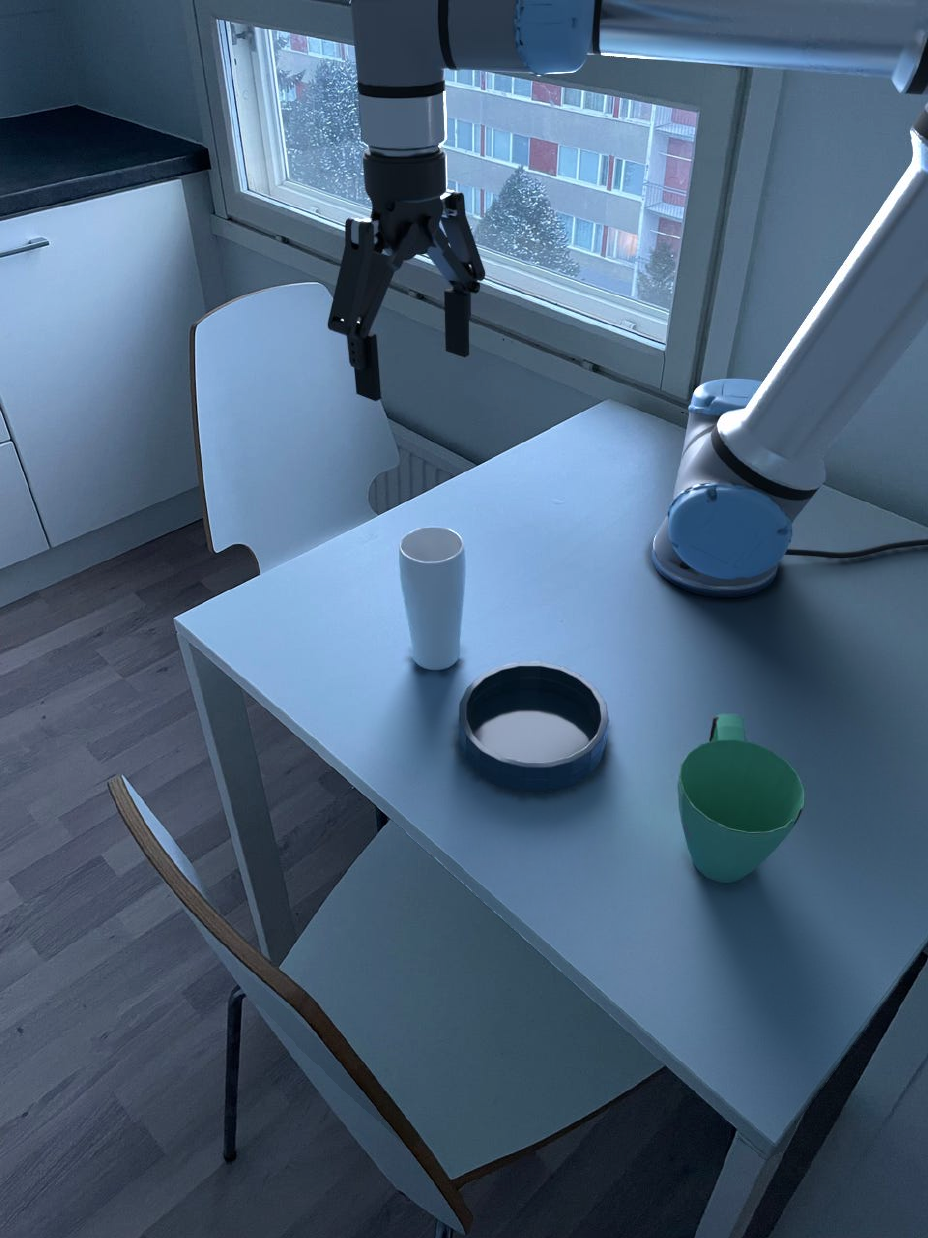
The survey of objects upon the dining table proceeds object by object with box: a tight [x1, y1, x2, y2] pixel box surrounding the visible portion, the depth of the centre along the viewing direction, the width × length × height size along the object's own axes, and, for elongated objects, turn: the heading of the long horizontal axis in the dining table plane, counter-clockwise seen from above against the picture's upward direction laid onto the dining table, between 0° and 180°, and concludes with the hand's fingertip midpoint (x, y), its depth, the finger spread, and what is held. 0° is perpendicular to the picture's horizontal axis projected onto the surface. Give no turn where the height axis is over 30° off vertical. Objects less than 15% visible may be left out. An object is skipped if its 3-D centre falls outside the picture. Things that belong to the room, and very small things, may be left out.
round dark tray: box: [458, 661, 610, 794], centre depth 88 cm, size 14×14×4 cm
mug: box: [677, 712, 806, 884], centre depth 76 cm, size 15×10×10 cm
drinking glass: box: [398, 526, 467, 671], centre depth 94 cm, size 7×7×15 cm
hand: (414, 374), depth 92 cm, fingers open, 13 cm apart
